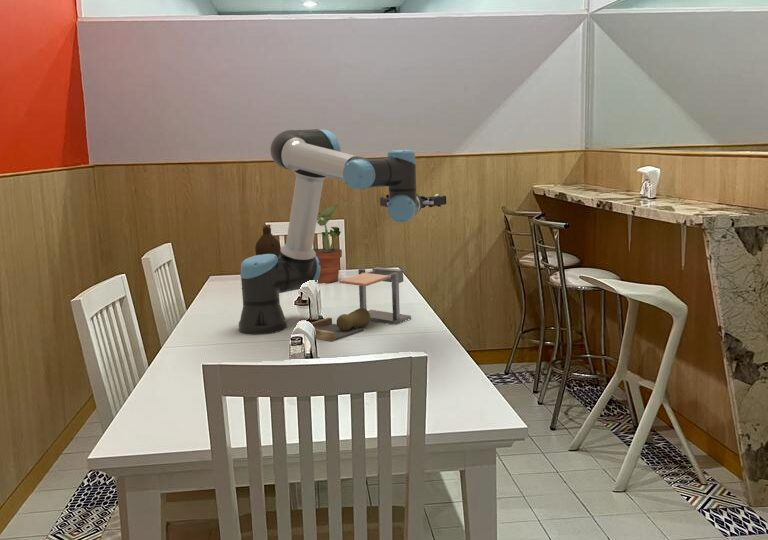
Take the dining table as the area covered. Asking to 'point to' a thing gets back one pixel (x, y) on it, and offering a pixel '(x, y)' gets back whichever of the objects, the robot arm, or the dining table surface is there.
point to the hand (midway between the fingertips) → (416, 198)
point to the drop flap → (373, 277)
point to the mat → (340, 333)
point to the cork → (353, 319)
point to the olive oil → (267, 243)
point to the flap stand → (395, 316)
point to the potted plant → (328, 250)
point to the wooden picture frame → (322, 333)
